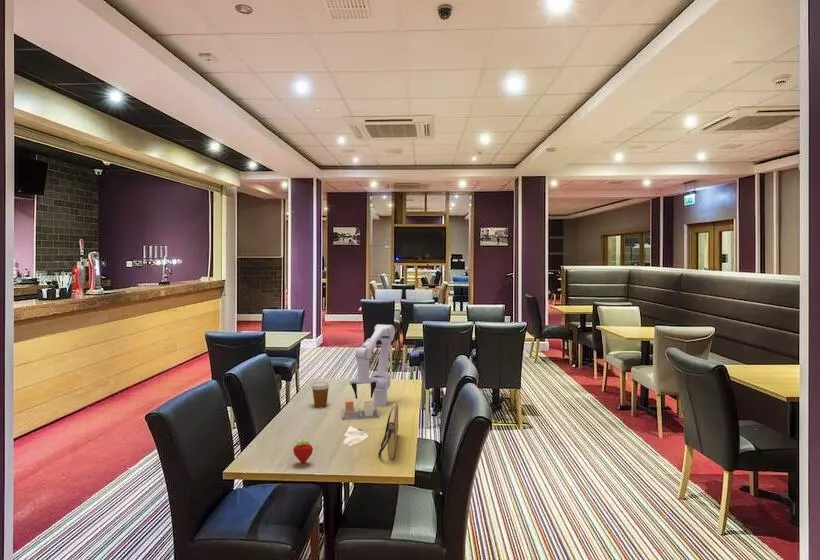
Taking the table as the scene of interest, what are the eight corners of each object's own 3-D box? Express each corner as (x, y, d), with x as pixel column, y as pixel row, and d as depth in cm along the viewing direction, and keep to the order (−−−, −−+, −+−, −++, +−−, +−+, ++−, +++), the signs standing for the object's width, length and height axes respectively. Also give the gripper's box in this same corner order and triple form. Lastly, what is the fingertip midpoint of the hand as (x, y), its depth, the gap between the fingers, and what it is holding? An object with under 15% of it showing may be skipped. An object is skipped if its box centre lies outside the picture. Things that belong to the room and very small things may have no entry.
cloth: (361, 449, 193) (361, 444, 193) (329, 447, 195) (329, 442, 195) (375, 427, 219) (375, 423, 219) (348, 426, 221) (347, 421, 221)
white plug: (364, 412, 235) (364, 401, 235) (372, 412, 236) (371, 400, 236) (365, 416, 230) (364, 404, 229) (373, 416, 230) (372, 404, 230)
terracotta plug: (345, 409, 244) (345, 398, 244) (352, 409, 244) (352, 398, 244) (345, 413, 238) (345, 402, 238) (353, 413, 239) (353, 401, 238)
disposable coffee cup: (308, 407, 248) (307, 385, 247) (318, 402, 257) (317, 381, 256) (323, 409, 244) (323, 387, 244) (332, 404, 253) (332, 382, 253)
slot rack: (341, 414, 237) (341, 409, 236) (376, 412, 240) (376, 407, 239) (342, 422, 225) (342, 417, 225) (379, 419, 228) (379, 414, 228)
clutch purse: (383, 433, 210) (382, 401, 209) (398, 433, 209) (398, 401, 209) (376, 461, 180) (376, 423, 179) (394, 461, 180) (394, 424, 179)
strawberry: (311, 466, 176) (310, 441, 175) (291, 466, 176) (291, 440, 176) (314, 460, 182) (314, 435, 181) (295, 460, 182) (295, 435, 181)
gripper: (349, 373, 227) (350, 401, 228) (378, 372, 230) (379, 399, 231) (348, 370, 234) (349, 397, 235) (377, 369, 237) (377, 395, 237)
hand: (363, 397), depth 233 cm, fingers open, 7 cm apart
